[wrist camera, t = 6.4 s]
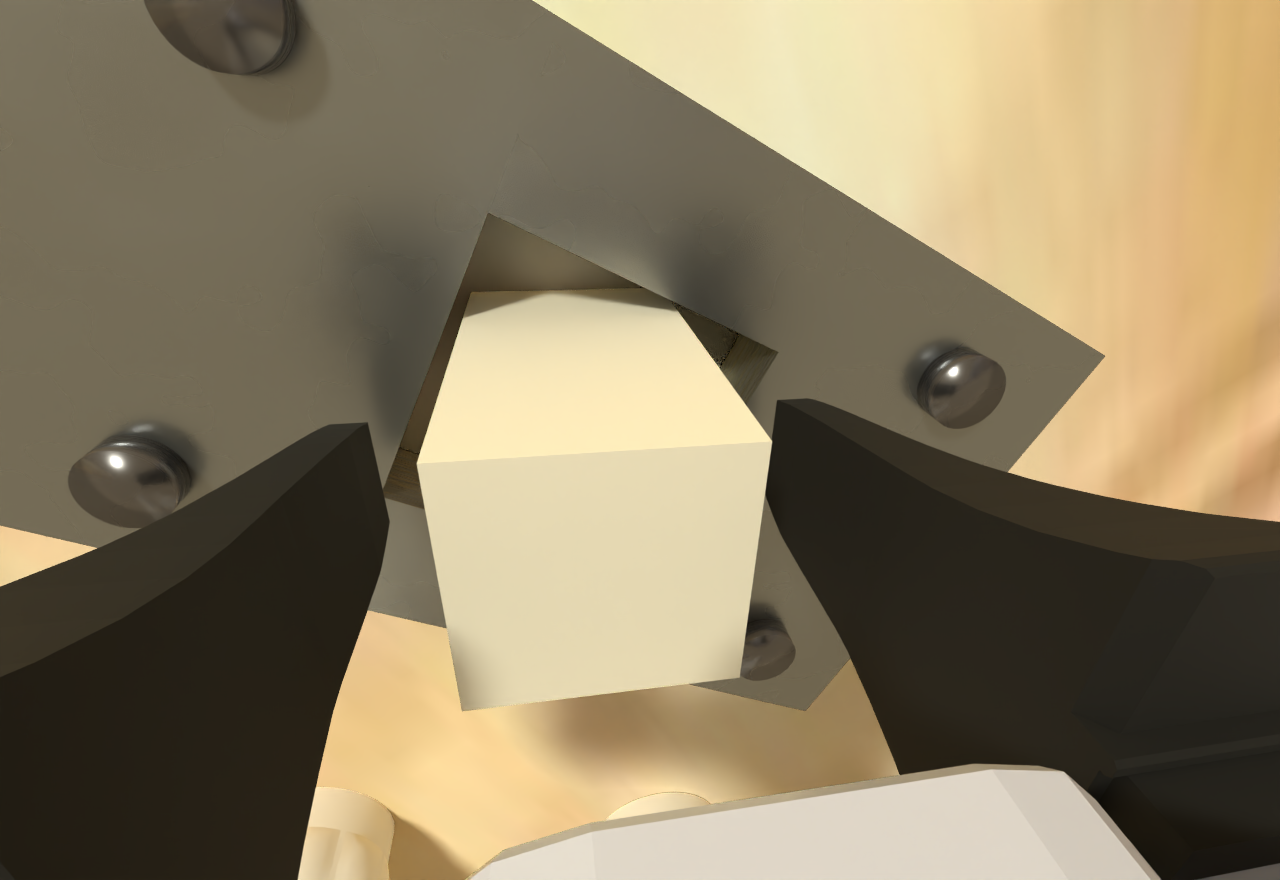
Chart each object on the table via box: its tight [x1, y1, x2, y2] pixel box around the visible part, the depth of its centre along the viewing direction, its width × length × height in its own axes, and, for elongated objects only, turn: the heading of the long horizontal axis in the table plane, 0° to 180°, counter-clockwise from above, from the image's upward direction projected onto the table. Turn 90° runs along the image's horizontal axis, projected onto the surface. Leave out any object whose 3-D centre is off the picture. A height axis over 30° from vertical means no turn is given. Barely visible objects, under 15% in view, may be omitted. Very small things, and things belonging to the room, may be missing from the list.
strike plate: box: [0, 0, 1105, 711], centre depth 13 cm, size 20×12×3 cm, turn 63°
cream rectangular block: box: [417, 288, 772, 711], centre depth 11 cm, size 4×4×7 cm
